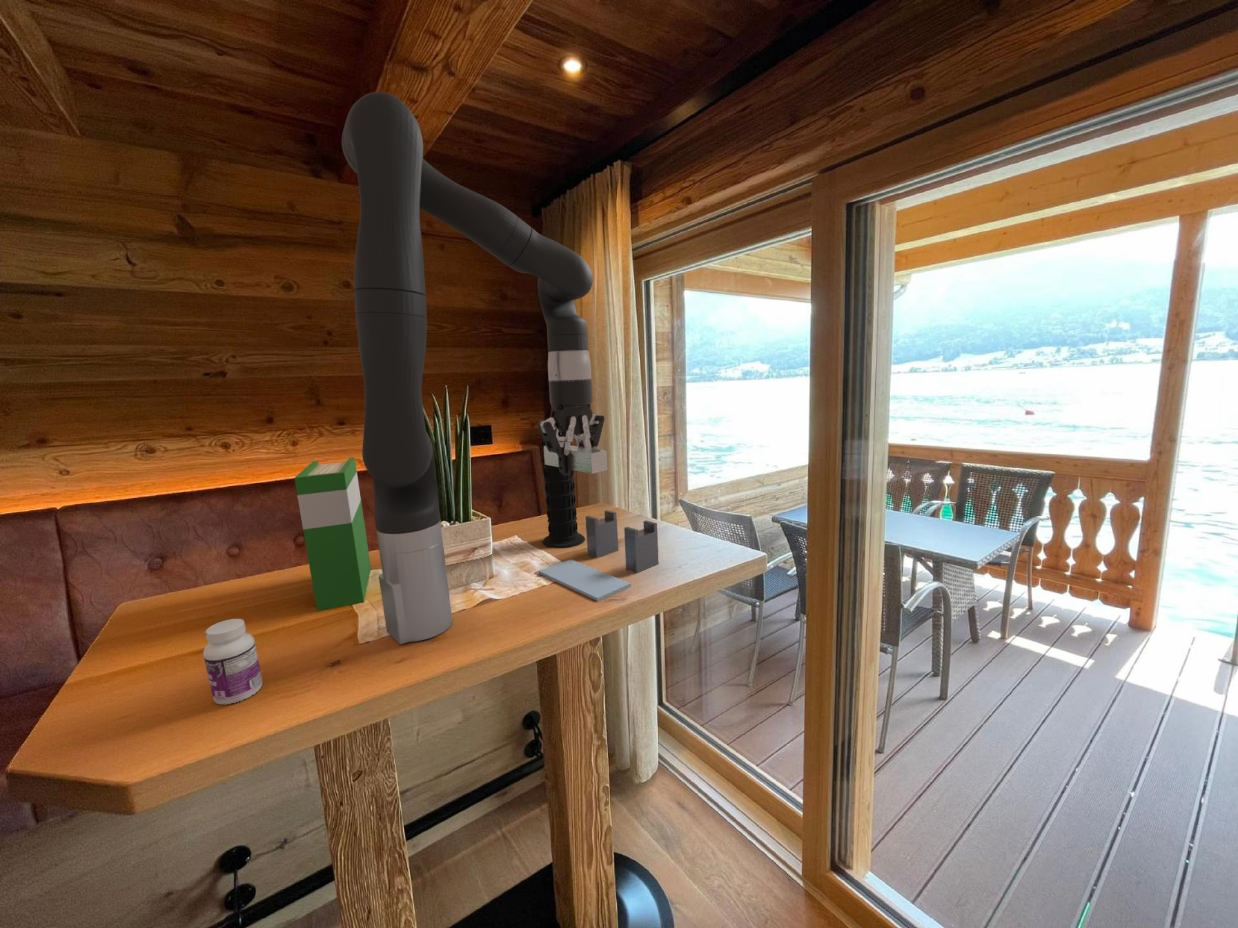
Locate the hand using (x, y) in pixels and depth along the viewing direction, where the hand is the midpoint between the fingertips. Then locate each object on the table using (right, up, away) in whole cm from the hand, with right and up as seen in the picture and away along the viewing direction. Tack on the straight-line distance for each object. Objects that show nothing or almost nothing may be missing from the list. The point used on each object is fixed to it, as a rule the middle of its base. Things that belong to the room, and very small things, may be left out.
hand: (575, 472), depth 94 cm
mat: (+1, -20, +4) cm, 21 cm away
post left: (+5, -18, +18) cm, 25 cm away
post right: (+13, -19, +9) cm, 25 cm away
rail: (0, +1, 0) cm, 1 cm away
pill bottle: (-42, -29, -27) cm, 57 cm away
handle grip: (-5, -17, +27) cm, 32 cm away
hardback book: (-45, -23, +6) cm, 50 cm away
